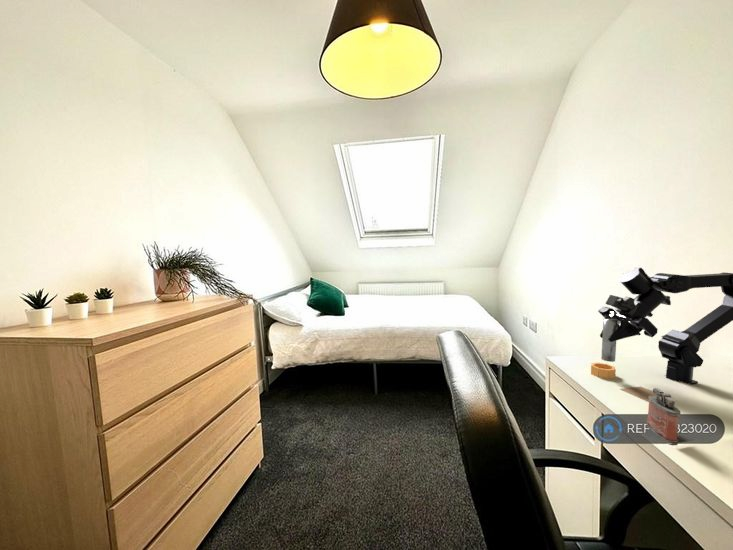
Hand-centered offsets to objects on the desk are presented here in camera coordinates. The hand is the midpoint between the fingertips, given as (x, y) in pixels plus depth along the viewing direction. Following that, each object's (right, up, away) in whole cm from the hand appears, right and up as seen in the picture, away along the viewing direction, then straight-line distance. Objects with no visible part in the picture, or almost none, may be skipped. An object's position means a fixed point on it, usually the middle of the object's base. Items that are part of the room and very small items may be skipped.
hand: (605, 338), depth 105 cm
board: (+4, -14, -10) cm, 18 cm away
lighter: (-8, -17, -29) cm, 35 cm away
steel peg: (+1, -7, +1) cm, 7 cm away
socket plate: (+2, -13, +4) cm, 14 cm away
